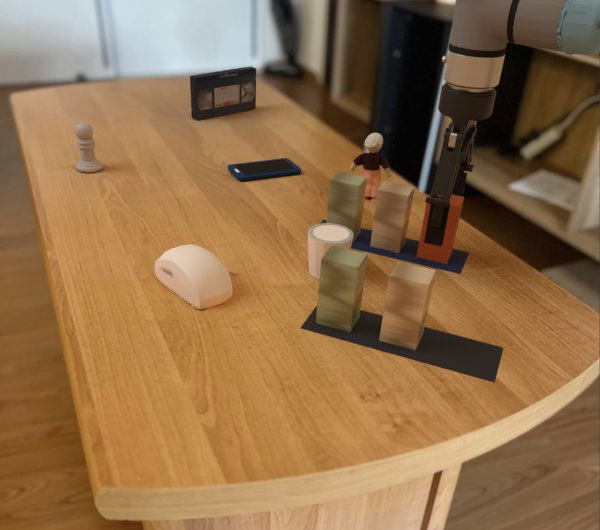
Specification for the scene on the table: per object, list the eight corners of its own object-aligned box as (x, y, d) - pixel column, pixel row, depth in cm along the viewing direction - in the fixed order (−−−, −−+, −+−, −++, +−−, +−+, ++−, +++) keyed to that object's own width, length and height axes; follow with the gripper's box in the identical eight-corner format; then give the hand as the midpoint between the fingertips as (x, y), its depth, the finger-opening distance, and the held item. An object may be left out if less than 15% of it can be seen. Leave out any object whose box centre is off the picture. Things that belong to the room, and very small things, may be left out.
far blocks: (405, 243, 106) (414, 186, 100) (399, 253, 103) (408, 195, 97) (332, 226, 110) (338, 171, 104) (325, 236, 107) (329, 179, 101)
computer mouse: (187, 263, 98) (184, 226, 94) (238, 299, 91) (238, 261, 87) (150, 276, 94) (147, 238, 91) (201, 315, 87) (199, 275, 83)
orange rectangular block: (451, 253, 104) (464, 196, 98) (446, 264, 101) (459, 206, 95) (422, 247, 106) (432, 190, 100) (416, 257, 103) (426, 199, 97)
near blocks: (422, 334, 85) (436, 270, 79) (415, 350, 82) (429, 284, 76) (325, 308, 89) (331, 245, 83) (315, 323, 86) (320, 258, 80)
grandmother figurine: (385, 196, 123) (395, 131, 115) (387, 204, 120) (397, 138, 112) (346, 194, 123) (353, 128, 115) (347, 202, 120) (353, 135, 112)
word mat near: (502, 349, 84) (503, 347, 84) (493, 384, 78) (494, 382, 78) (320, 301, 91) (321, 299, 91) (299, 330, 85) (300, 328, 85)
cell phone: (226, 168, 130) (226, 164, 129) (287, 160, 135) (288, 157, 134) (239, 181, 124) (239, 177, 124) (302, 173, 130) (302, 169, 129)
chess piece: (97, 174, 124) (91, 128, 118) (71, 172, 124) (63, 125, 119) (107, 164, 128) (101, 119, 123) (82, 162, 128) (74, 117, 123)
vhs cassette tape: (196, 121, 153) (194, 77, 147) (190, 117, 155) (187, 74, 149) (257, 109, 163) (257, 68, 157) (250, 106, 165) (250, 65, 159)
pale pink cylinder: (299, 279, 96) (301, 237, 92) (312, 259, 101) (315, 218, 97) (342, 288, 94) (346, 247, 90) (354, 267, 100) (359, 227, 95)
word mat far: (468, 254, 105) (469, 252, 105) (459, 276, 99) (460, 273, 99) (323, 221, 112) (323, 219, 112) (306, 239, 106) (306, 237, 106)
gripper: (459, 63, 98) (436, 193, 110) (422, 103, 79) (399, 254, 92) (508, 70, 96) (479, 201, 108) (482, 112, 77) (450, 265, 90)
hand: (442, 226), depth 100 cm, fingers open, 13 cm apart
